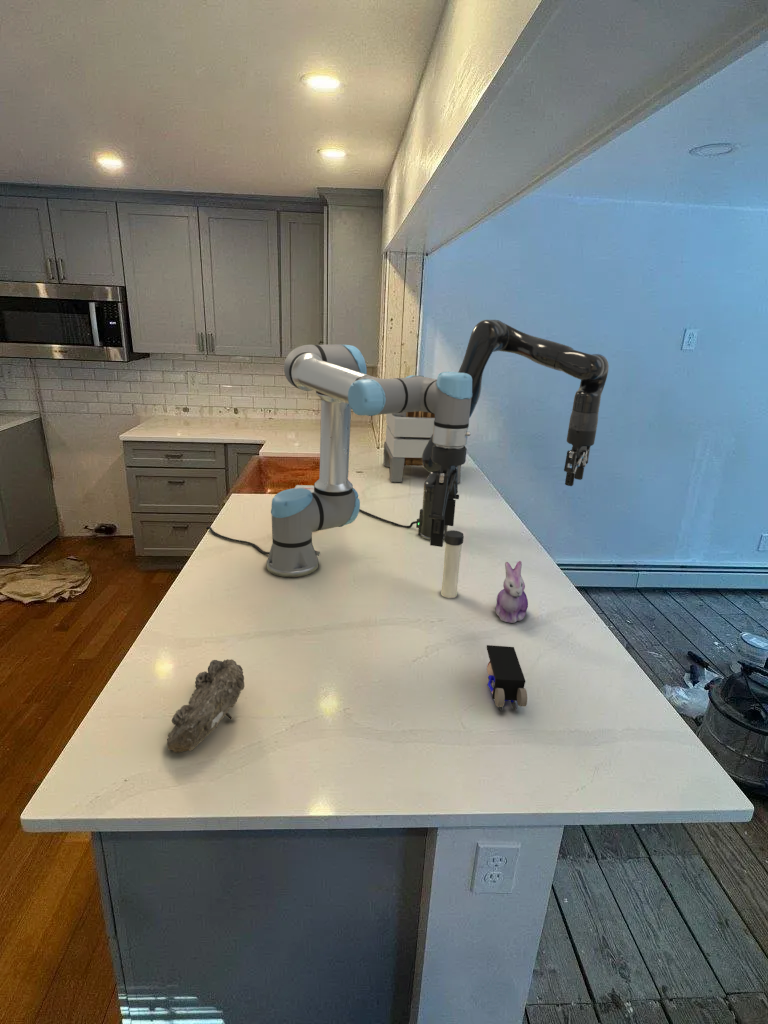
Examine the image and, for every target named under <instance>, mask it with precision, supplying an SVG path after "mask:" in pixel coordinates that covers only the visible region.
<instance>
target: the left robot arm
mask: <svg viewBox="0 0 768 1024" xmlns="http://www.w3.org/2000/svg"><path fill="white" fill-rule="evenodd" d="M458 372H459V371H458ZM458 372H457V371H441V372H439V373H438V375H437V377H436V378H431V377H427V376H424V375H420V374H419V375H414V374H412V375H411V374H410V375H407V376H405V377H396V378H395V377H392V378H379V377H376V376H372V375H369V374H367V373H368V369H367V363H366V360H365V357H364V356H363V354H362V352H361V350H360V349H359V348H358V347H356V346H355V345H352V344H351V345H350V344H343V343H342V344H340V343H336V344H334V343H333V344H332V343H331V344H304V345H300V346H297V347H295V348H294V349H293V350H291V351H290V352H289V353H288V354H287V355H286V358H285V360H284V364H283V373H284V376H285V378H286V380H287V382H288V383H289V384H290V385H291V386H293V387H294V388H296V389H299V390H301V391H303V392H304V391H305V392H311V391H314V392H315V394H316V395H317V397H319V398H320V402H321V403H320V432H319V433H320V434H319V435H320V436H319V438H320V439H319V475H318V476H319V478H318V479H317V480H316V481H315V482H314V485H313V486H314V492H312V493H311V491H310V490H308V489H304V488H298V489H296V488H295V487H294V488H292V487H291V488H287V489H284V490H281V491H278V492H277V493H276V494H275V495H274V496H273V497H272V499H271V508H270V514H271V515H270V516H271V539H272V544H271V546H270V550H269V551H264V550H263V549H262V548H260V547H259V546H258V545H257V544H255V543H253V542H252V541H251V542H250V541H247V540H242V539H236V538H231V537H228V536H224V535H222V534H219V533H218V532H216V531H214V530H213V528H212V526H210V525H209V526H207V527H206V528H205V529H206V530H210V532H211V533H212V534H213V535H215V536H217V537H219V538H222V539H224V540H228V541H231V542H236V543H240V544H246V545H250V546H252V547H254V548H256V549H257V550H258V551H259V552H260V553H261V554H264V555H268V556H267V559H266V569H267V571H268V572H269V573H270V574H272V575H274V576H277V577H283V578H298V577H305V576H308V575H311V574H312V573H313V574H314V572H316V571H317V570H318V568H319V558H318V557H321V552H320V551H319V550H315V547H314V544H313V532H319V531H323V530H328V529H329V530H330V529H333V528H342V527H344V526H347V525H350V524H352V523H353V522H355V521H356V519H357V518H358V517H359V513H360V511H359V509H361V501H360V498H359V493H358V491H357V489H355V488H354V485H353V482H351V481H350V480H349V467H350V444H351V419H352V418H351V417H352V412H353V413H354V414H355V415H356V416H368V417H373V416H379V415H386V414H391V413H404V412H416V411H423V412H428V413H432V414H435V420H434V429H433V443H434V445H433V446H432V461H433V462H434V463H436V464H439V465H440V466H441V468H440V470H439V471H438V472H437V474H436V484H435V491H434V497H433V503H432V510H431V514H429V518H432V526H431V539H430V540H429V541H430V542H429V546H431V547H439V548H443V545H444V540H443V537H444V525H447V526H448V527H454V523H455V512H456V503H457V502H456V501H457V500H460V494H458V493H459V490H458V486H459V485H458V484H459V483H458V466H460V465H461V466H463V465H464V464H465V463H466V461H467V460H466V459H467V451H468V449H467V447H466V446H467V444H468V437H471V435H472V433H471V432H470V431H468V430H469V426H470V418H471V417H470V407H471V398H472V377H471V376H470V375H469V374H467V373H458ZM469 417H470V418H469ZM437 513H440V514H437Z"/></svg>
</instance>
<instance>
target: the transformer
mask: <svg viewBox="0 0 768 1024" xmlns="http://www.w3.org/2000/svg"><path fill="white" fill-rule="evenodd" d="M434 420H435V414H432V413H428V412H423V411H416V412H404V413H391V414H385V423H386V428H385V438H384V442H383V466H384V467H388V468H389V475H388V476H389V477H388V478H389V480H390V482H391V483H402V482H403V475H404V469H405V466H406V467H407V466H411V467H412V466H413V467H415V466H416V467H417V466H418V467H424V466H423V464H422V454H423V451H424V449H425V447H426V445H427V444H428V442H429V440H430V438H431V436H432V434H433V429H434ZM461 472H462V465H460V466H458V484H459V483H461Z"/></svg>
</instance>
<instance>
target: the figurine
mask: <svg viewBox="0 0 768 1024" xmlns="http://www.w3.org/2000/svg"><path fill="white" fill-rule="evenodd" d="M522 566H523V563H522V561H521V560H518V561H517V562H516V564H515V565H514V568H513V567H512V566H511V564H510V562H508V561H506V562H505V563H504V569H505V570H504V571H505V579H504V580H503V582H502V583H503V585H502V586H503V587H502V589H501V590H500V591H499V592H498V594H497V596H496V606H495V613H496V614H495V615H497V616H498V617H499V620H501V621H502V622H505V623H511V624H512V623H514V624H515V623H517V622H520V621H523V619H524V618H525V617H526V614H527V610H528V607H529V600H528V597H527V594H526V592H525V588H526V584H525V580H524V578H523V576H522Z"/></svg>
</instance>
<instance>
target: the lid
mask: <svg viewBox="0 0 768 1024" xmlns="http://www.w3.org/2000/svg"><path fill="white" fill-rule="evenodd" d="M464 537H465V535H464V533H463V532H462V531H459V530H453V529H452V530H451V529H450V530H447V532H445V539H444V540H443V542H444V543H445V544H446V543H447V544H449V545H461V546H462V545H463V543H464Z"/></svg>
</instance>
